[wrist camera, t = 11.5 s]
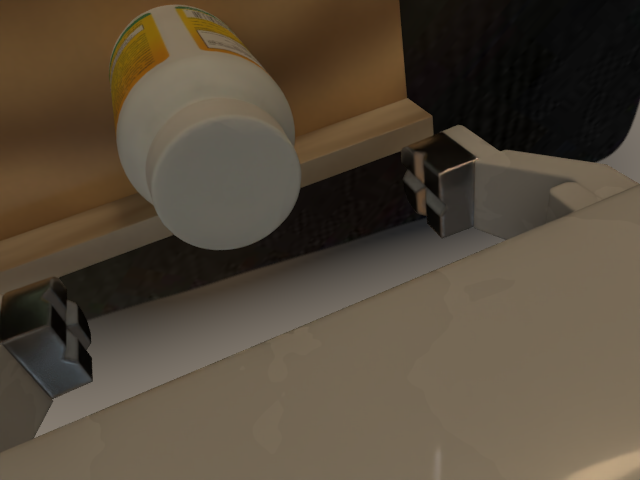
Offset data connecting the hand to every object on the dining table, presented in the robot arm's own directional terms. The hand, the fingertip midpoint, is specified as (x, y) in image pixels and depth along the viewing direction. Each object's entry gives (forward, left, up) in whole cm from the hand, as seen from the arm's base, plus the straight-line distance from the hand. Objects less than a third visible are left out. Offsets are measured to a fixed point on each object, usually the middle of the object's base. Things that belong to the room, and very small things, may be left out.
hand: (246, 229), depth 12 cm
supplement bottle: (0, 0, -12) cm, 12 cm away
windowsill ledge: (+1, -1, -18) cm, 18 cm away
